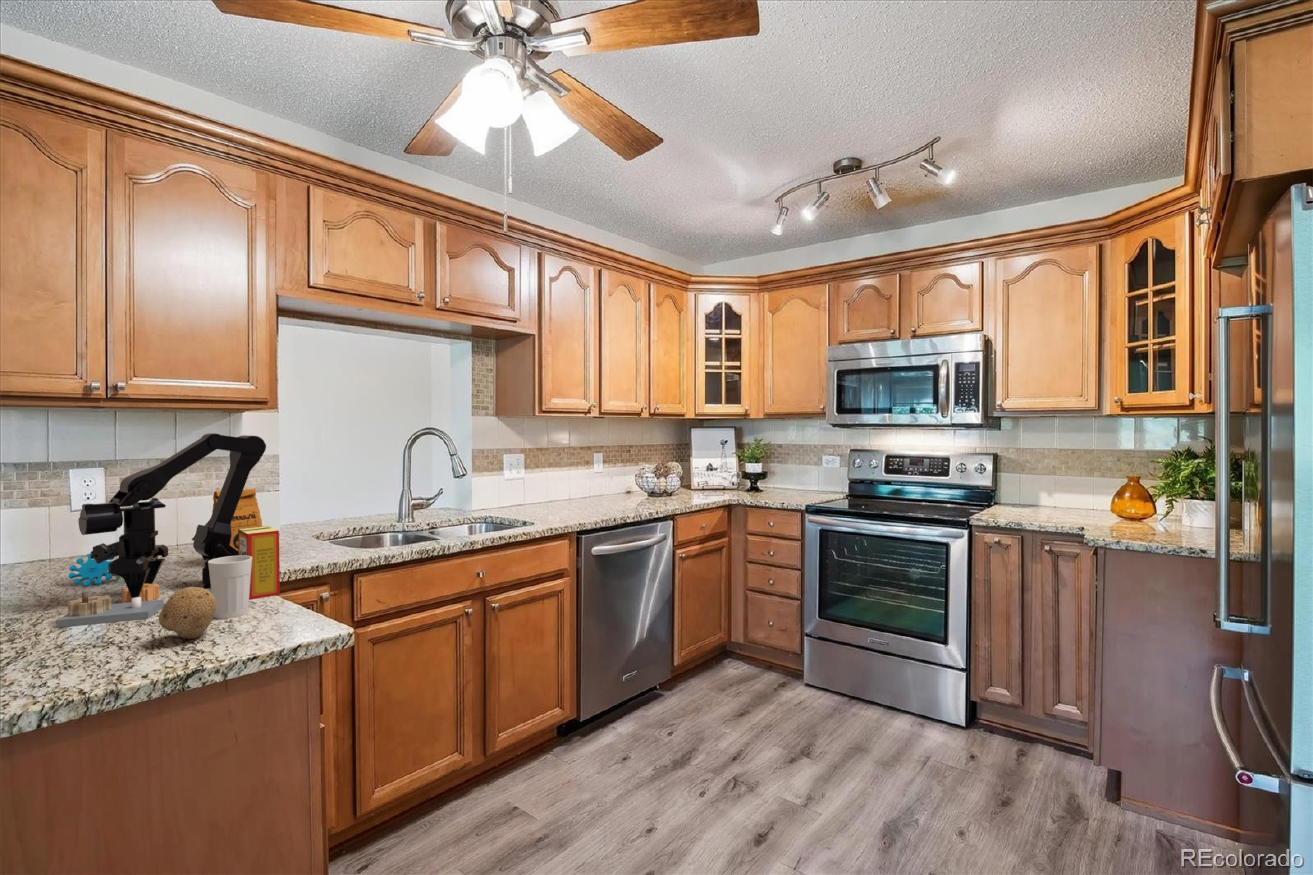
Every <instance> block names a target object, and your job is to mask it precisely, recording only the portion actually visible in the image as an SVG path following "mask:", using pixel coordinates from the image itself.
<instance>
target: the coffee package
mask: <svg viewBox="0 0 1313 875" xmlns="http://www.w3.org/2000/svg"><path fill="white" fill-rule="evenodd" d="M256 491H257V489H256V487H255V488H248V489H247V488H246V489H243V492H242V494H241V497H240V500H239V503H238V505H237V508H236V511H235V513H234V516H233V519H232V521H231V534H232V536H231V542H230V546H232V547H233V548H234V549H236V550H237V551H239V546H238V529H244V528H253V527H263V520H262V517H261V510H260V507H259V505H258V504H259V503H258V501H257V500H258V499H257V497H256V495H257V492H256ZM220 492H221V490H215V491H214V492H213V497H212V499H213V504H212V510H211V512H212V513H213V511H214V508H215V505H216V503H217V500H218V497H219V495H220Z"/></svg>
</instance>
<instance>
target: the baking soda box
mask: <svg viewBox="0 0 1313 875" xmlns="http://www.w3.org/2000/svg"><path fill="white" fill-rule="evenodd" d="M238 546H239V556H251V557H252V566H251V577H250V591H249V601H251V600H258V599H264V598H269V597H274V596H275V597H276V596H280V595H281V592H280V591H281V585H280V584H281V581H280V580H281V578H280V575H281V574H280V571H281V570H280V530H278V529H276V528H274V527H272V526H270V525H266V526H263V525H262V527H253V528H244V529H238Z"/></svg>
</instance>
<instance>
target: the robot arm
mask: <svg viewBox="0 0 1313 875" xmlns="http://www.w3.org/2000/svg"><path fill="white" fill-rule="evenodd" d="M266 449H267V444H266V442H265V440H264V439H263V438H262V437H260V436H257V435H243V434H242V435H239V436H230V435H223V434H219V433H211V432H210V433H205V434H203V435H202V437H200V438H199V439H197V440H195V441H194V442H192V443H191V444H189V445H187V446H186V447H184V448H182V449H180V450H179V451H178V452H176V453H174V454H173V455H171V456H170V457H168V458H166V459H165V460H163V461H161V462H160V463H158V464H156V465H154V466H151V467H148V468H146V469H142V470H140V471H137V472H135V473H132V474H130V475H128V476H126V477H124V478H123V479H122V480H121V481H120V484H119V490H117V492H116V493H115V494H114V495H113V496H112V498H111V499H109V501H108V502H104V503H83V504H82V505H81V510H80V513H79V517H78V518H77V519H78V520H77V521H78V522H77V523H78V528H79V532H80V533H81V535H82V536H88V535H95V534H104V533H105V534H106V533H113V532H116V531H117V530H118V529H120V528H121V527H122V526H123V534H121V535H120V536H119V537H118V541H116V542H113V543H112V542H111V543H109V544H106V543H100V544H97V545H94V546H92V550H91V551H90V553H89V554H91V556H90V558H91V560H93V559H95V561H96V563H97V564H99V563H102V562H104V561H105V560H107V561H109V560H108V559H110V558H113V557H114V558H115V557H118V558H116V559H113V560H111V561H112V562H111V563H110V564H109V565H108V566H109V573H110V574H112V573H114V574H115V575H118V576H120V577H121V579H123V581H124V582H125V584H126V586H127V587H128V590H129V592H130V595H131V597H132V598H135V597H139V596H140V593H141V591H142V588H143V585H144V584H148V583H149V584H154V583H155V582H154V581H155V579H156V577H157V575H158V573H159V571H160V570H161V568H162V565H163V563H164V562H165V560H166V558H167V557H168V556H169V547H168V546H167V545H165V544H156V537H157V536H158V535H159V530H156V513H155V512H156V509H165V508H166V506H167V505H166V504H165V503H163V502H161V500H159V499H158V498H157V497H155V496H156V495H157V494H158V493H159V492H161V491H162V490H163V489H164V488H165V486H167V484H168V483H169V482H170V481H171V480H172V479H173V478H174V477H176V476H177V475H179V474H180V473H182V472H183V471H185V470H186V469H188V468H189V467H191V466H193V465H194V464H196V463H198V462H199V461H200V460H202V459H204V458H205V457H207V456H208V455H210V454H211V453H213V452H214V451H216V450H220V451H227V452H229V456H228V457H229V469H228V472H227V473H226V477H225V480H224V481H223V485H222V486H221V490H220V491H221V492H220V495H219V497H218V500H217V503H216V505H215V508H214V511H213V513H212V514H211V516H210V518H209V520H208V521H207V522H206V523H205V524H204V525H203V524H198V525H197V527H196V530H195V534H194V537H192V538H191V541H193V543H192V546H193V547H192V548H193V549H194V551H195V552H196V553H198V554H199V555H200V556H201V557H202V559H203V561H205V562H204V567H202V570H201V571H202V572H201V573H202V574H201V575H202V576H201V577H202V578H201V579H202V580H201V581H202V582H201V583H202V585H203V586H202V588H204V589H207V588H208V589H209V588H210V589H211V582H210V574H209V566H208V561H210V560H212V559H216V558H221V557H228V556H239V551H237V550H236V549H234V548H233V547H232V546H230V542H231V536H232V534H231V521H232V519H233V516H234V513H235V511H236V508H237V505H238V503H239V500H240V497H241V494H242V492H243V490H245V487H246V486H245V485H247V480H248V478H249V475H250V473H251V471H252V469H254V467H255V466H256V465H257V464H258V463H259V462H260V460H261V458H263V455H264V454H265V452H266ZM148 500H149V501H148ZM159 556H160V557H161V558H159ZM127 587H126V588H127Z"/></svg>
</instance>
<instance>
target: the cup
mask: <svg viewBox="0 0 1313 875" xmlns="http://www.w3.org/2000/svg"><path fill="white" fill-rule="evenodd" d="M208 566H209V574H210V582H211V588H210V590H211V591H210V592H211V593H212V594H213V595H214V597H215V599H216V603H217V605H216V611H215V615H214V618H213V619H233V618H238V617H242V616H245V615H247V614H248V613H249V612H250V611H249V609H250V608H249V602H250V600H249V591H250V577H251V566H252V557H251V556H228V557H221V558H216V559H212V560H210V561H208Z"/></svg>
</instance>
